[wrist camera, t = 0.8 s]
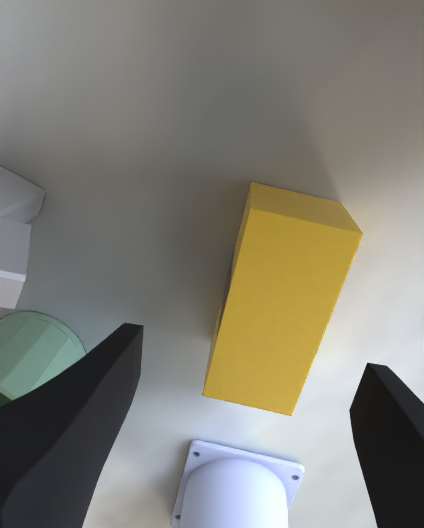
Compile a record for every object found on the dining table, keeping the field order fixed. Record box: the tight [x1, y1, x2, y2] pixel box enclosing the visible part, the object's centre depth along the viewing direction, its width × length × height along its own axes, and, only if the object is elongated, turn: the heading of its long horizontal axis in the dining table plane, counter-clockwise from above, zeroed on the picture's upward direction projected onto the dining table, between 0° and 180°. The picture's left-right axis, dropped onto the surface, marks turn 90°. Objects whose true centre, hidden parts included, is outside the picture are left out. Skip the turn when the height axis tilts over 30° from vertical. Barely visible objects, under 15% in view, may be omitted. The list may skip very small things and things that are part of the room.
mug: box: [0, 311, 86, 406], centre depth 24 cm, size 9×6×6 cm
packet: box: [202, 182, 363, 416], centre depth 20 cm, size 10×5×5 cm, turn 168°
